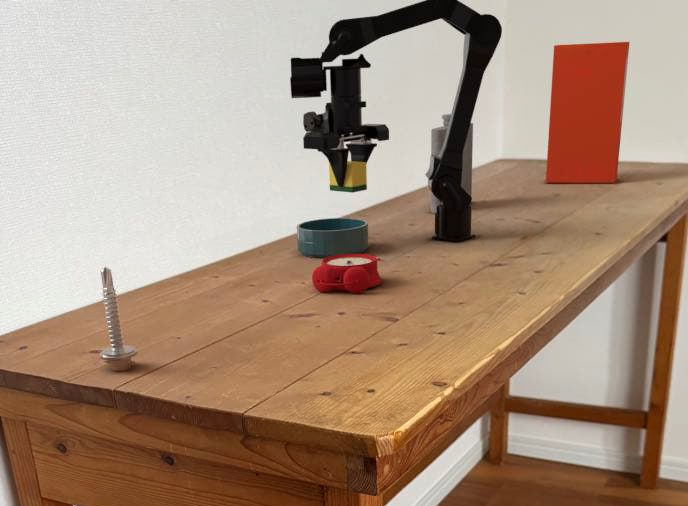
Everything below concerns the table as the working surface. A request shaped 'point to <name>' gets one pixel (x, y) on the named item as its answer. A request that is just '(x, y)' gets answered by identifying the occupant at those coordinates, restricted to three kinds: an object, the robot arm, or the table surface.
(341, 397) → the table surface
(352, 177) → the sponge
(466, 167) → the hip flask
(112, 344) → the screw
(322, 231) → the bowl
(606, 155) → the file binder
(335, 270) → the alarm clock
